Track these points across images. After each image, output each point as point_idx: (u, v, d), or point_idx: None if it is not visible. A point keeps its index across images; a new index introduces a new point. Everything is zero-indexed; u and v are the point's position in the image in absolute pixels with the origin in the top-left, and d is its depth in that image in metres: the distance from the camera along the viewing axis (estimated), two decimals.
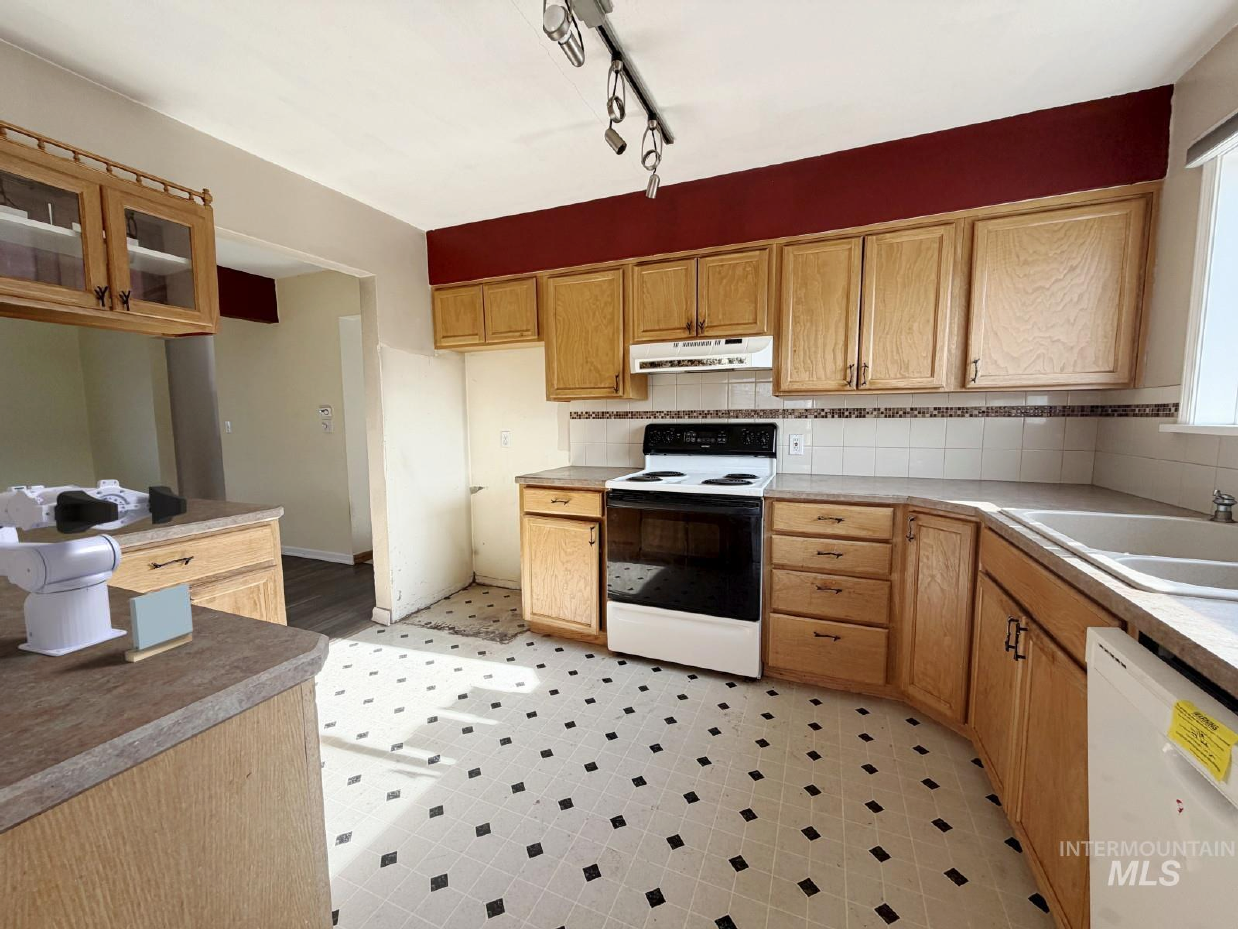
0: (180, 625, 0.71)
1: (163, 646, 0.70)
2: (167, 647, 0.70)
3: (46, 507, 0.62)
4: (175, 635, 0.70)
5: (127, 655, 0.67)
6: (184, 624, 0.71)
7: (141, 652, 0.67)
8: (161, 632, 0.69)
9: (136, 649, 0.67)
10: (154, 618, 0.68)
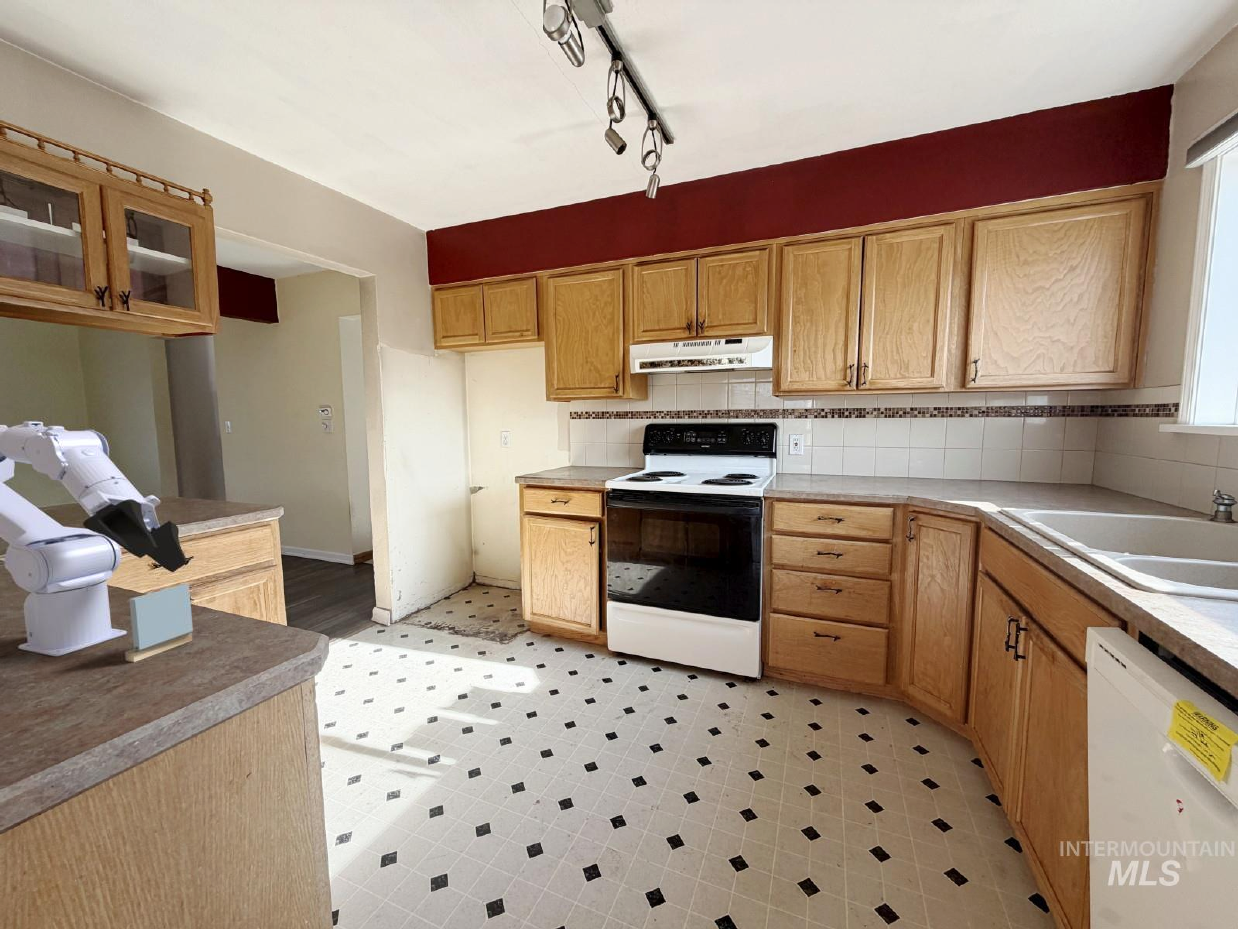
0: (180, 625, 0.71)
1: (163, 646, 0.70)
2: (167, 647, 0.70)
3: (106, 502, 0.63)
4: (175, 635, 0.70)
5: (127, 655, 0.67)
6: (184, 624, 0.71)
7: (141, 652, 0.67)
8: (161, 632, 0.69)
9: (136, 649, 0.67)
10: (154, 618, 0.68)
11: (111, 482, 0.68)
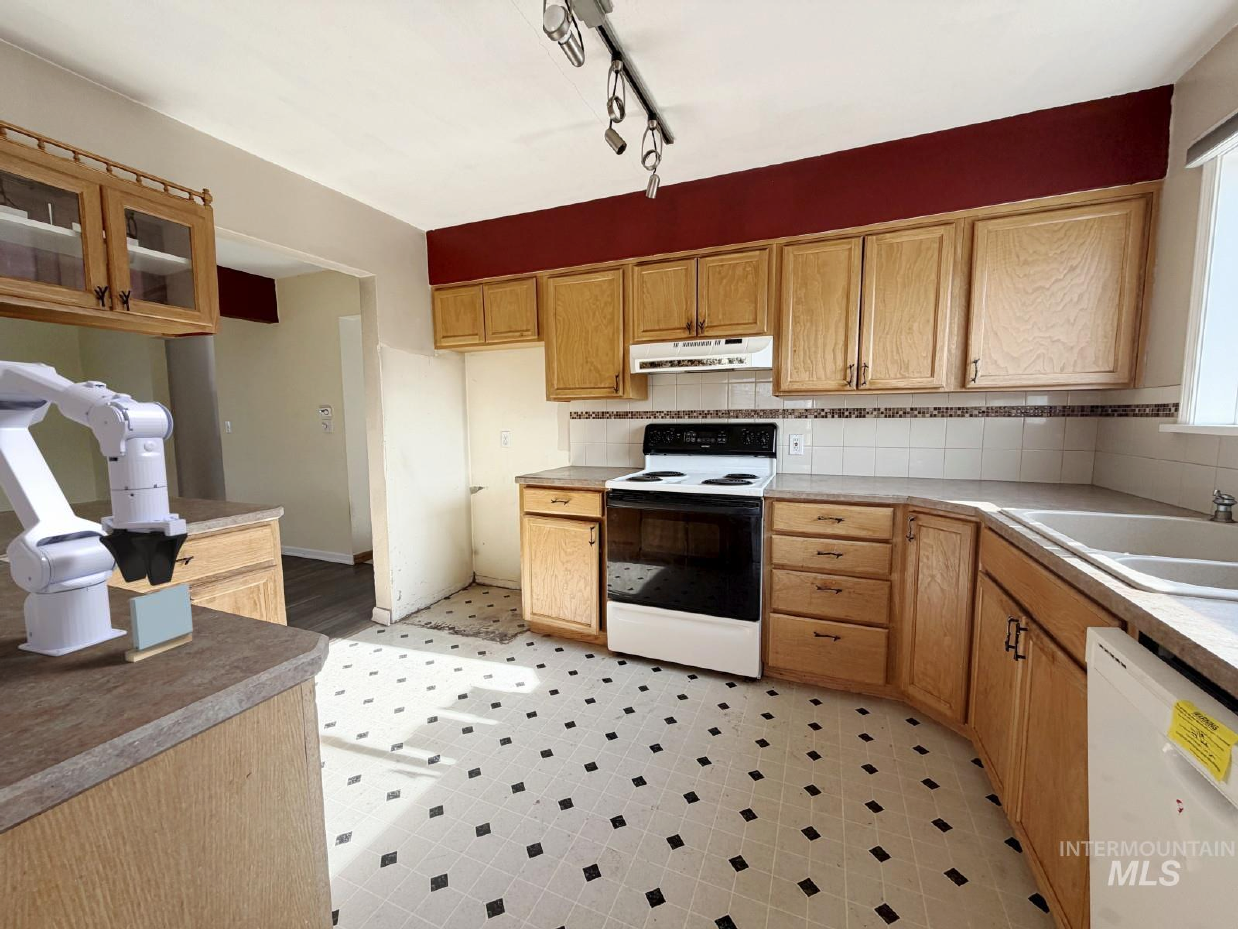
0: (180, 625, 0.71)
1: (163, 646, 0.70)
2: (167, 647, 0.70)
3: (183, 533, 0.68)
4: (175, 635, 0.70)
5: (127, 655, 0.67)
6: (184, 624, 0.71)
7: (141, 652, 0.67)
8: (161, 632, 0.69)
9: (136, 649, 0.67)
10: (154, 618, 0.68)
11: (164, 490, 0.70)
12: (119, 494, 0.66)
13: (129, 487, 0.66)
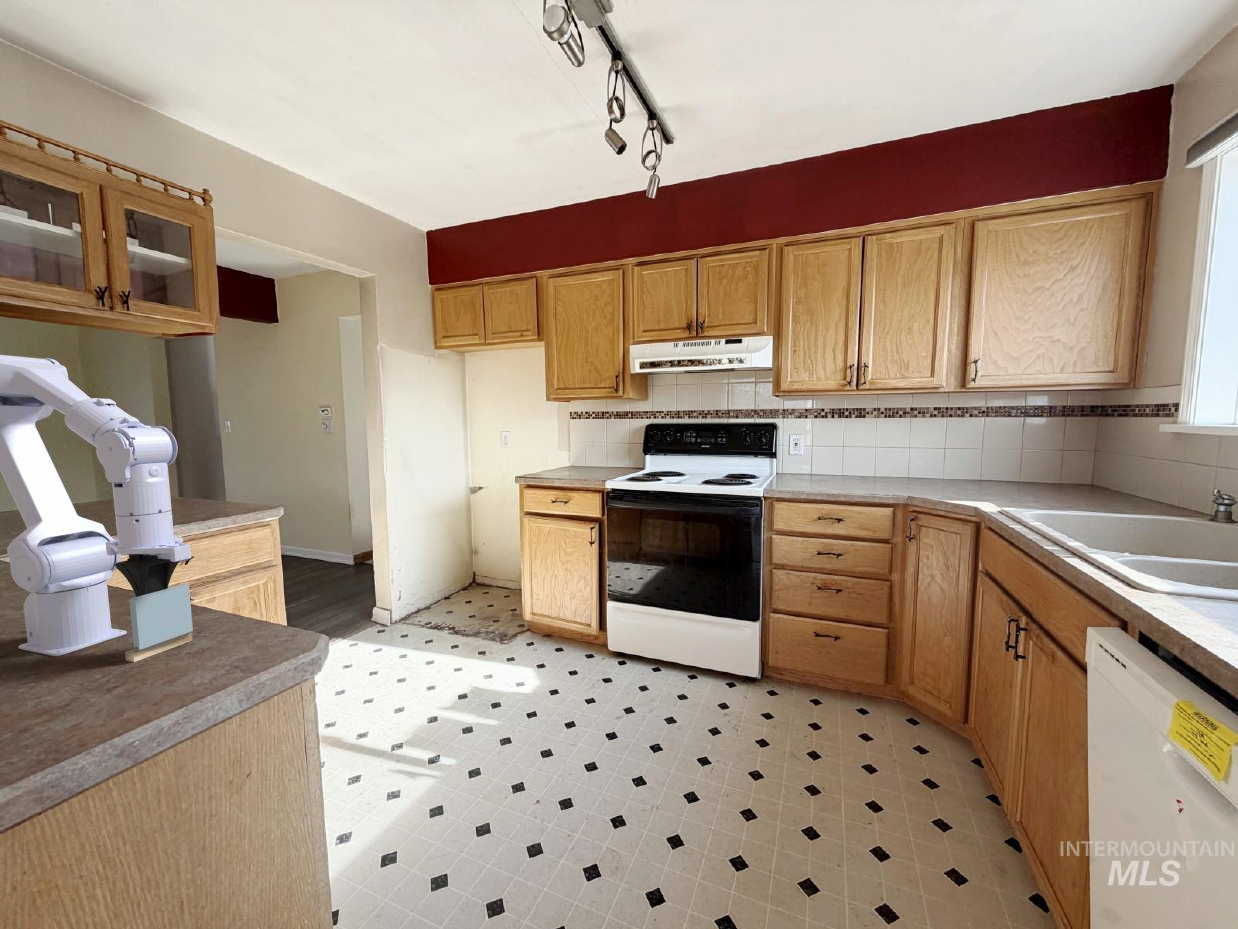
0: (180, 625, 0.71)
1: (163, 646, 0.70)
2: (167, 647, 0.70)
3: (188, 558, 0.68)
4: (175, 635, 0.70)
5: (127, 655, 0.67)
6: (183, 624, 0.71)
7: (141, 652, 0.67)
8: (161, 632, 0.69)
9: (136, 649, 0.67)
10: (154, 618, 0.68)
11: (169, 515, 0.70)
12: (124, 520, 0.66)
13: (134, 513, 0.66)
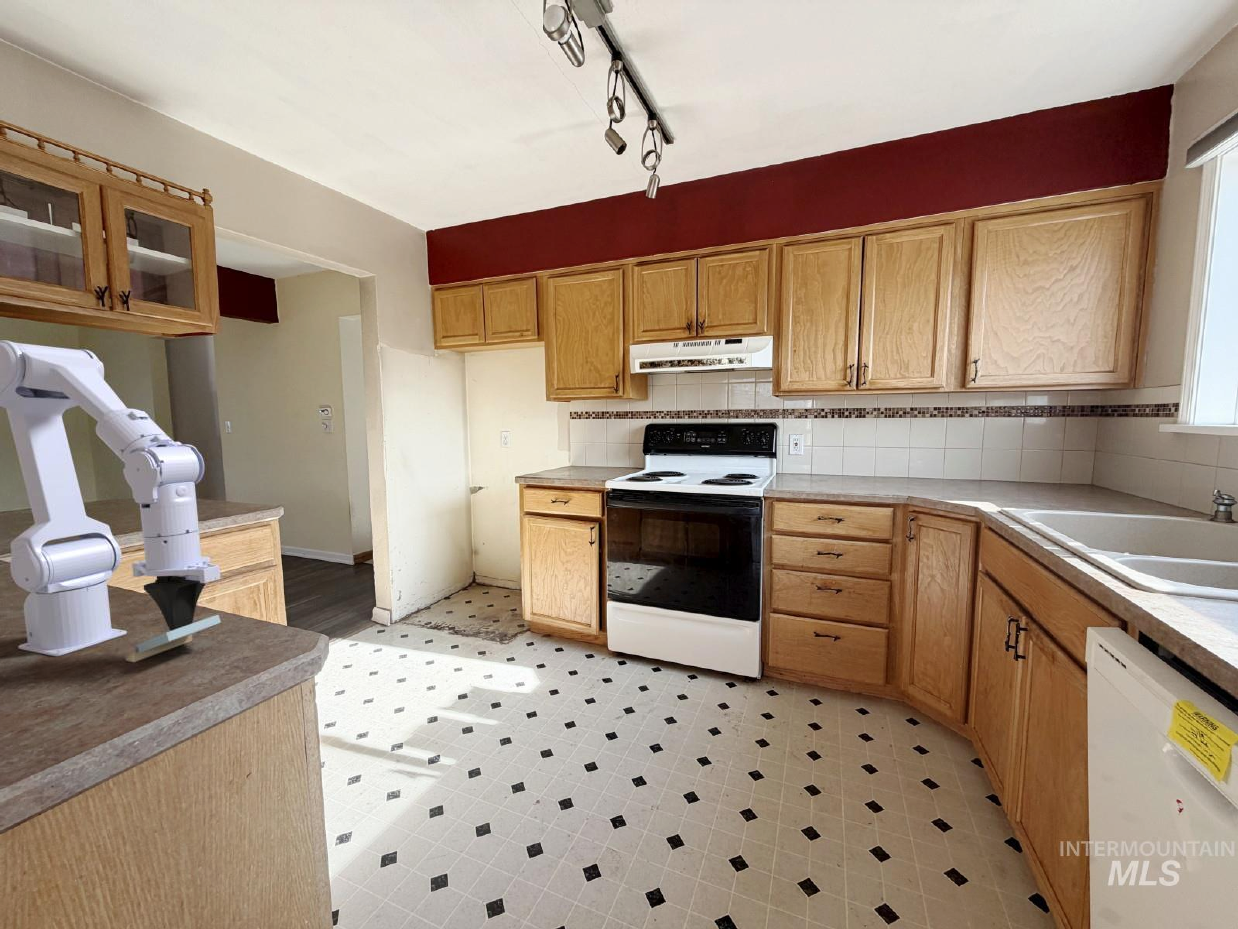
0: None
1: (163, 646, 0.70)
2: (167, 647, 0.70)
3: (217, 579, 0.67)
4: None
5: (127, 655, 0.67)
6: None
7: (141, 652, 0.67)
8: None
9: (136, 648, 0.67)
10: None
11: (197, 535, 0.68)
12: (152, 541, 0.65)
13: (162, 534, 0.65)
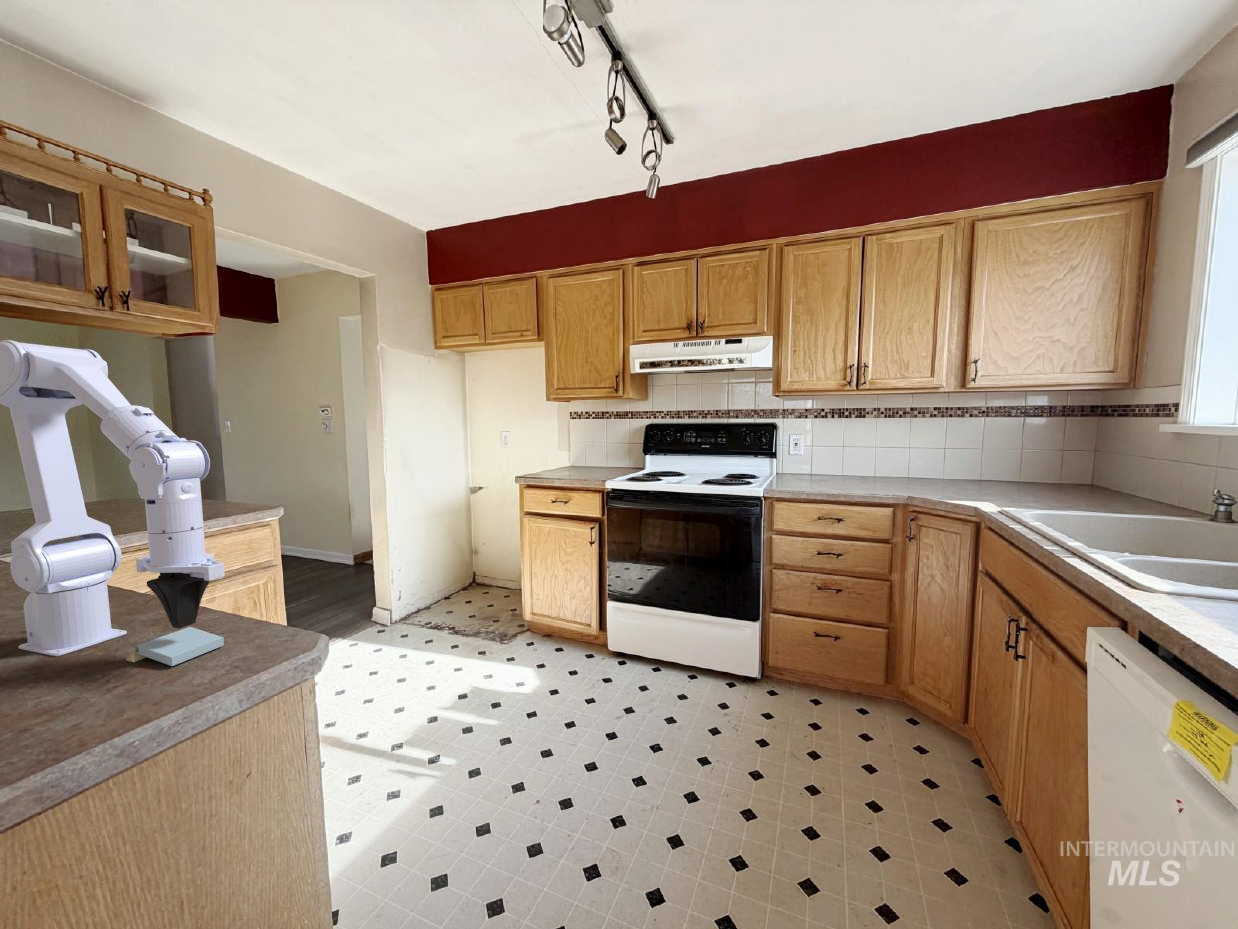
0: None
1: None
2: None
3: (221, 576, 0.66)
4: None
5: (127, 655, 0.67)
6: None
7: None
8: None
9: (136, 648, 0.67)
10: None
11: (201, 531, 0.68)
12: (157, 538, 0.64)
13: (166, 531, 0.64)
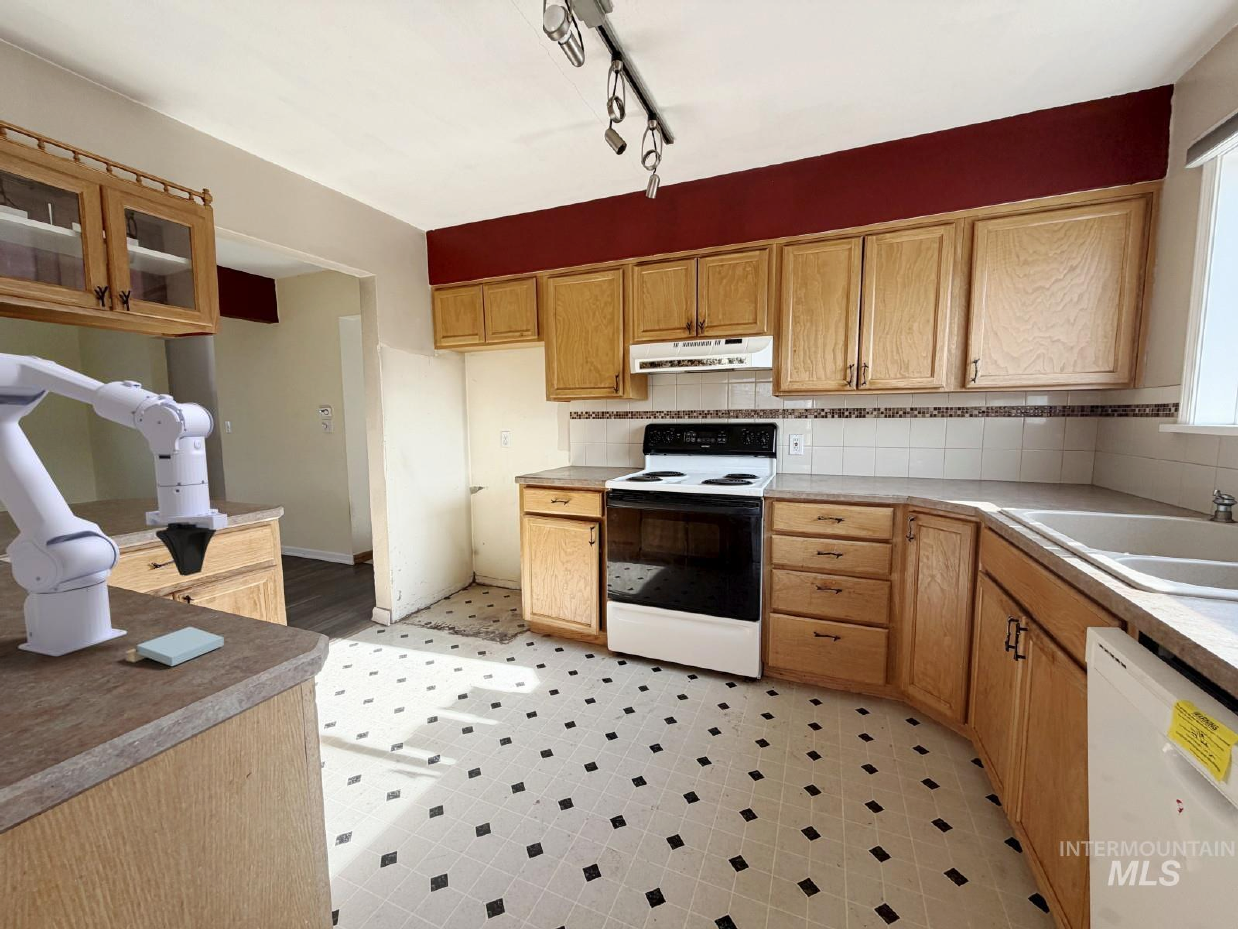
0: None
1: None
2: None
3: None
4: None
5: (127, 655, 0.67)
6: None
7: None
8: None
9: (136, 648, 0.67)
10: None
11: (206, 486, 0.73)
12: (165, 490, 0.70)
13: (181, 483, 0.70)
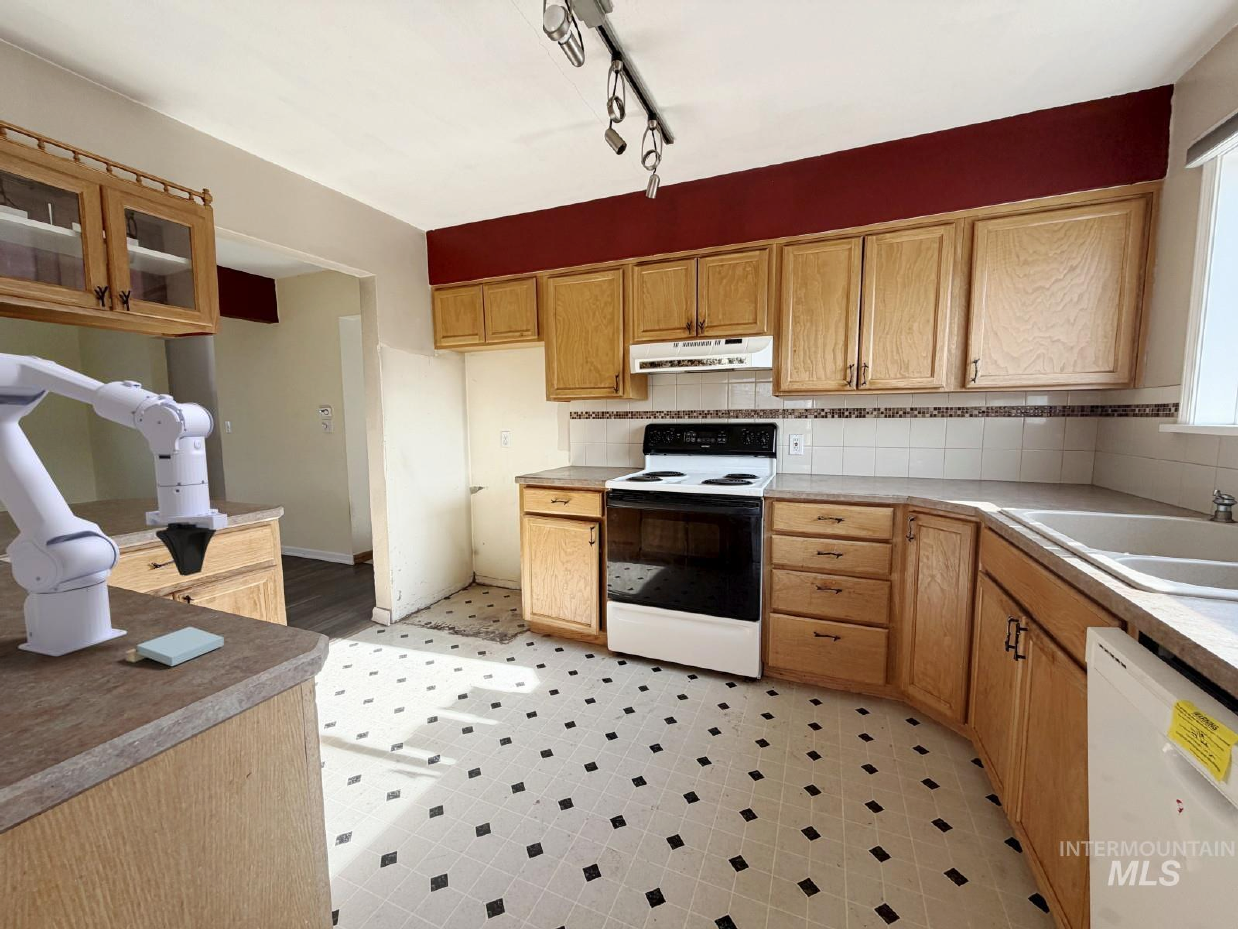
0: None
1: None
2: None
3: None
4: None
5: (127, 655, 0.67)
6: None
7: None
8: None
9: (136, 648, 0.67)
10: None
11: (206, 486, 0.73)
12: (165, 490, 0.70)
13: (181, 483, 0.70)
